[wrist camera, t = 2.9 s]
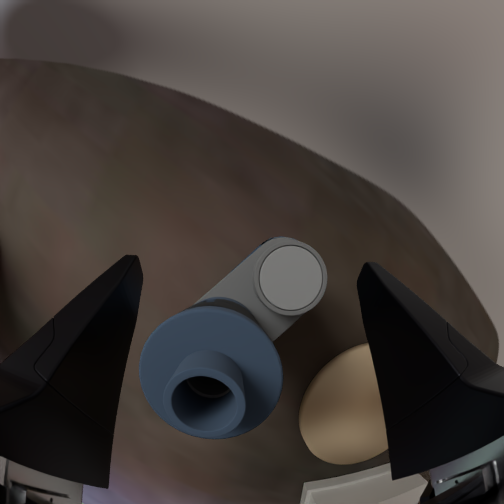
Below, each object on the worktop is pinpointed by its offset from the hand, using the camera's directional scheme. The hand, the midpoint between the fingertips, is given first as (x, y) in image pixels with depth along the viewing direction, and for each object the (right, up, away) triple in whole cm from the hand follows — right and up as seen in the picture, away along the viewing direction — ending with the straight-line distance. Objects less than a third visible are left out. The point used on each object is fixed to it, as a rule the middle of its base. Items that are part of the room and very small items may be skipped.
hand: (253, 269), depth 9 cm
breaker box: (+8, -21, +5) cm, 23 cm away
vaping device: (-1, -2, +7) cm, 7 cm away
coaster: (+7, -10, +6) cm, 13 cm away
